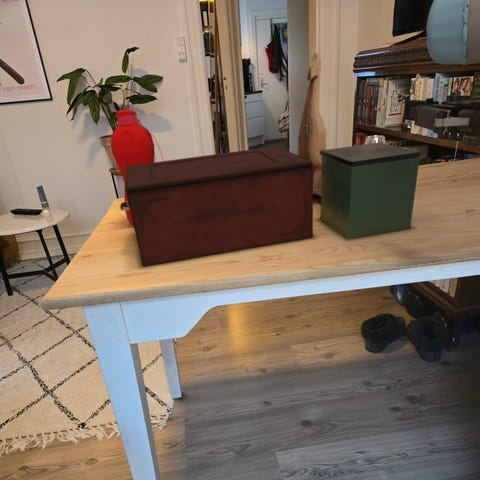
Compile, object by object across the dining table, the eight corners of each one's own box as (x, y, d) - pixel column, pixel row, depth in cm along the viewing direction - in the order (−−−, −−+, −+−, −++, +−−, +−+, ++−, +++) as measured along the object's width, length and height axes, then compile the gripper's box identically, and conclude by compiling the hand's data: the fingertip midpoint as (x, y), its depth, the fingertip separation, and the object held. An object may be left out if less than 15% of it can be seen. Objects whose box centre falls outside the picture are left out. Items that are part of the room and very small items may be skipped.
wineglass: (379, 186, 111) (383, 138, 105) (358, 185, 114) (361, 138, 107) (385, 181, 115) (389, 135, 109) (364, 180, 118) (367, 135, 112)
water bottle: (171, 224, 98) (150, 108, 85) (126, 228, 99) (98, 113, 86) (175, 212, 106) (157, 105, 93) (134, 216, 107) (109, 109, 94)
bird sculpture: (283, 201, 106) (278, 56, 90) (299, 190, 115) (297, 55, 98) (324, 204, 101) (327, 50, 85) (338, 191, 110) (343, 49, 93)
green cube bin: (320, 219, 92) (321, 155, 85) (376, 210, 94) (381, 147, 87) (348, 239, 80) (351, 166, 73) (410, 227, 83) (420, 156, 75)
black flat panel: (319, 154, 86) (319, 150, 85) (379, 146, 88) (379, 142, 87) (351, 166, 73) (352, 161, 73) (420, 156, 75) (420, 151, 75)
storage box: (285, 207, 102) (284, 142, 95) (322, 235, 83) (324, 158, 75) (130, 231, 96) (114, 165, 88) (131, 269, 77) (111, 187, 69)
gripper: (470, 164, 47) (369, 139, 67) (566, 149, 49) (440, 130, 69) (484, 89, 43) (372, 87, 63) (588, 77, 45) (448, 78, 65)
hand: (408, 109), depth 66 cm, fingers closed
